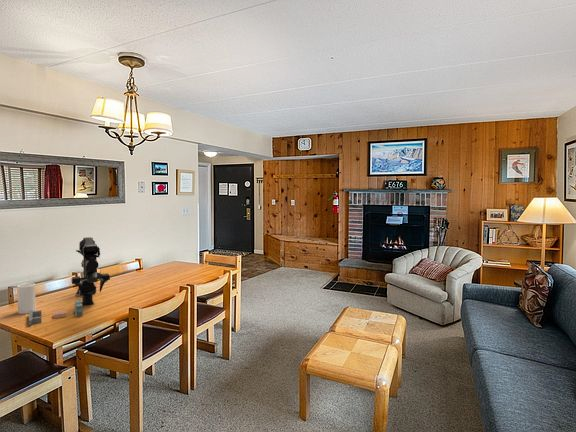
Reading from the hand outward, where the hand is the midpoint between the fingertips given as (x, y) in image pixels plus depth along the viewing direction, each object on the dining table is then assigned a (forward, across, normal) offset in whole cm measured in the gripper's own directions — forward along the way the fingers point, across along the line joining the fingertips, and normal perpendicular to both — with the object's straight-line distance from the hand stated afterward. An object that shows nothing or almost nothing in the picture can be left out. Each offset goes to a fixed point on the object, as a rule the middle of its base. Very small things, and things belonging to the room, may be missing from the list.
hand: (91, 293), depth 196 cm
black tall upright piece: (+15, +3, +51) cm, 53 cm away
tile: (+15, -15, +11) cm, 23 cm away
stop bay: (+14, -25, +11) cm, 31 cm away
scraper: (+14, -5, +11) cm, 19 cm away
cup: (+15, -30, +29) cm, 44 cm away
